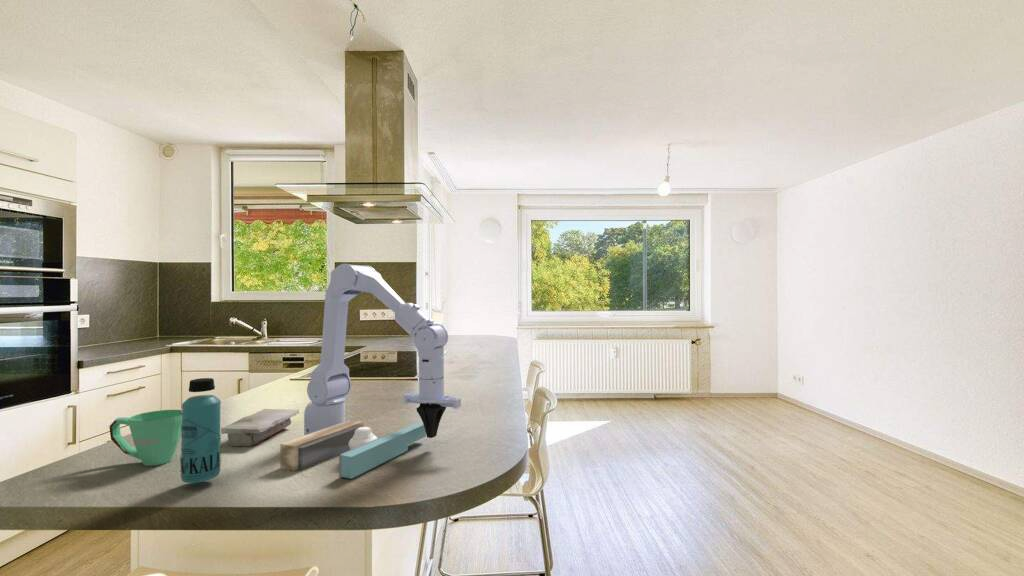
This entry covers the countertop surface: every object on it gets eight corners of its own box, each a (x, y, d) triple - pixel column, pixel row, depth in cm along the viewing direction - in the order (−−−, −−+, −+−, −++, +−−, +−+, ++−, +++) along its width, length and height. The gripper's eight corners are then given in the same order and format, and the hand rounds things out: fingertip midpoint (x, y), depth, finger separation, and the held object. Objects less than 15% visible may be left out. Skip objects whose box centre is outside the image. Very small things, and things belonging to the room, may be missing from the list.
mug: (195, 453, 108) (195, 409, 108) (165, 470, 98) (165, 421, 98) (128, 454, 107) (128, 409, 108) (91, 471, 98) (91, 421, 98)
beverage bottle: (192, 478, 94) (192, 375, 94) (228, 477, 94) (228, 375, 94) (171, 492, 87) (172, 382, 87) (210, 491, 88) (210, 381, 88)
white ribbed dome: (349, 465, 100) (348, 431, 101) (348, 456, 106) (347, 424, 106) (380, 460, 103) (379, 427, 103) (377, 452, 108) (376, 421, 108)
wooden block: (280, 468, 99) (280, 443, 99) (349, 440, 117) (349, 420, 117) (298, 472, 97) (298, 447, 97) (366, 443, 115) (366, 422, 115)
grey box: (218, 448, 112) (259, 449, 112) (218, 427, 112) (259, 428, 112) (264, 425, 130) (300, 426, 130) (264, 407, 130) (299, 408, 130)
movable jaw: (339, 476, 94) (339, 454, 94) (415, 439, 117) (415, 422, 117) (351, 478, 92) (351, 456, 92) (425, 441, 115) (425, 424, 115)
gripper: (394, 378, 110) (395, 437, 110) (449, 382, 104) (449, 445, 104) (413, 373, 116) (413, 429, 116) (465, 377, 110) (465, 436, 110)
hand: (431, 436), depth 110 cm, fingers closed
